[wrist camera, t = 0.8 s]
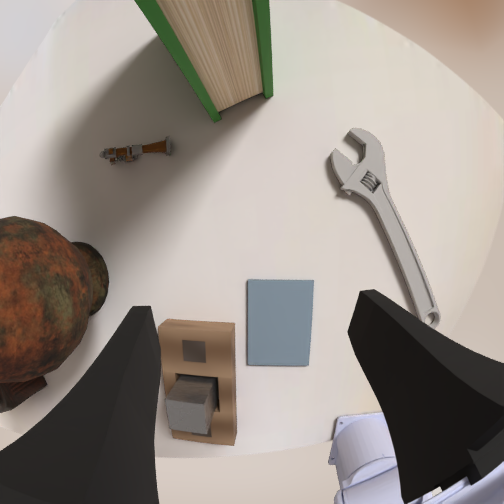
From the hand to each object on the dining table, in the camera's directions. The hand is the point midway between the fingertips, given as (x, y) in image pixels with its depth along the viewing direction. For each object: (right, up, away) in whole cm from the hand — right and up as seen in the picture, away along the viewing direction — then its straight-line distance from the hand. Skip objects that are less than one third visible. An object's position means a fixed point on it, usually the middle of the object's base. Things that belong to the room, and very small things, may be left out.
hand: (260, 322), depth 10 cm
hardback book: (-5, +26, +20) cm, 34 cm away
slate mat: (+3, -6, +22) cm, 23 cm away
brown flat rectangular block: (-6, -13, +24) cm, 28 cm away
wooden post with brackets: (-13, +14, +22) cm, 29 cm away
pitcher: (-25, -2, +24) cm, 35 cm away
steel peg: (-6, -13, +24) cm, 28 cm away
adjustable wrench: (+15, +4, +21) cm, 26 cm away
